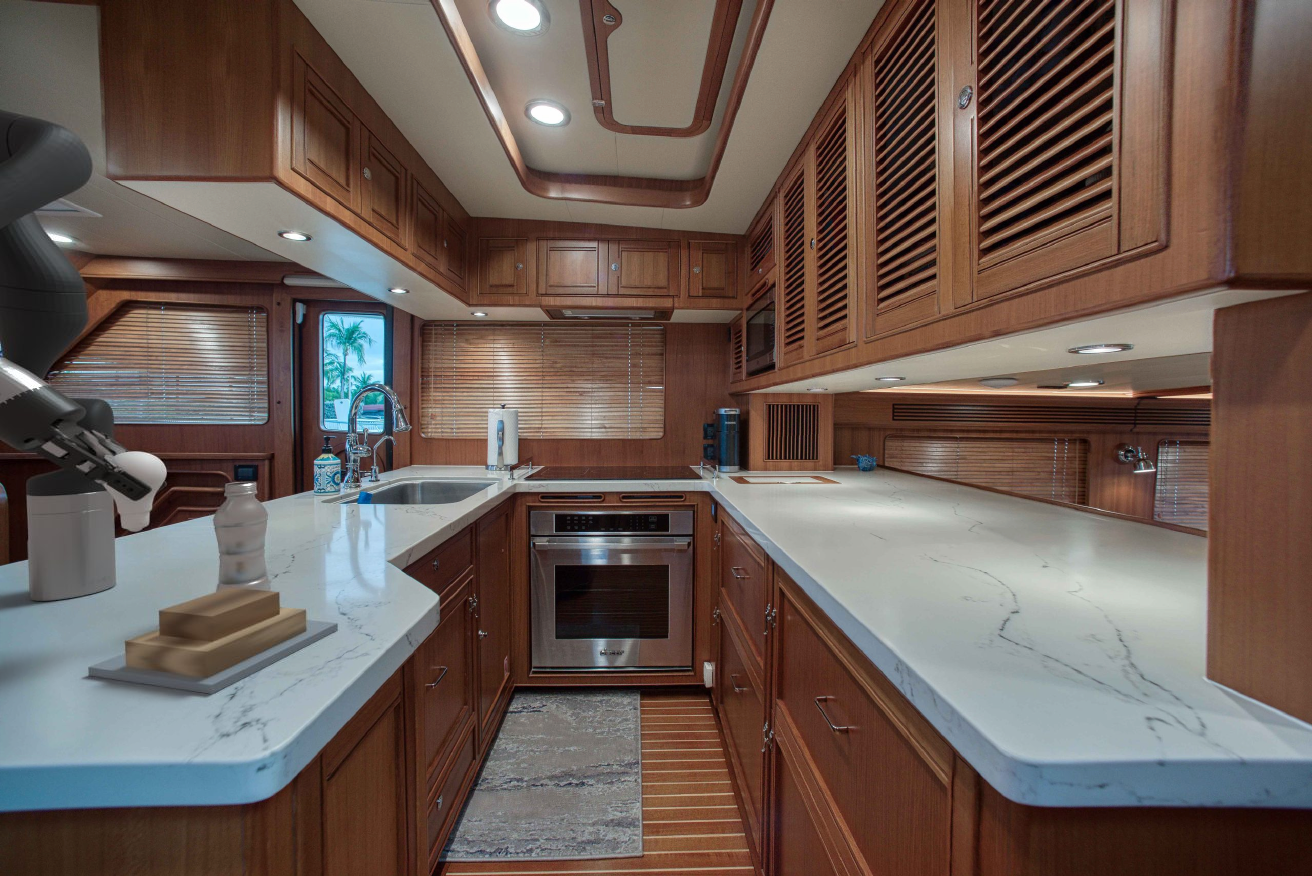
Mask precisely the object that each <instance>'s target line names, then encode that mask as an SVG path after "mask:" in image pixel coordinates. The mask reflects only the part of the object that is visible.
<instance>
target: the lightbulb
mask: <svg viewBox="0 0 1312 876" xmlns="http://www.w3.org/2000/svg"><path fill="white" fill-rule="evenodd" d="M112 461H114V462H115V463H116V464H117V465H119V466H120V467H121V468H122V469H123V471H126V472H127V473H129V474H130V475H132V476H134V477H135V478H137V479H139V480H140V481H142V482H144V483H145V484H147V485H148V486H150V487H151V488H152V491H151V492H150V493H149V494H147V495H146V496H145V497H143V498H142V499H140V500H138V501H133V500H131V499H129V498H128V497H126V496H125V495H123V494H121V493H120V492H118V491H116V490H115V489H113V488H112V487H110V486H108V485H107V482H106V483H105V484H103V485H104V487H105V488H106V489H107V490H108V491H109V493H110V494H111V495H112V496H113V501H114V503H115V504H116V507H117V508H116V509H117V510H116V511H117V514H119V515H120V523H121V524H120V525H121V528H123V529H125V530H128V531H129V532H139V531H142V529H143V528H146V527H148V526H149V525H150V515H151V514H150V513H151V511H152V510H153V502H154V498H155V496H156V494H157V493H158V492H159V491H158V489H159V488H160V487H161V485H162V483H163V482H164V481H166V478H167V468H166V466H165V465H166V464H165V463H164V462H163V461H162V460H161V459H160V458H159V457H157V456H156V455H155V454H154V455H153V454H151V453H148V452H144V451H131V452H125V453H121V454H118V455H115V456H113V458H112ZM123 471H121V473H122V472H123ZM157 491H158V492H157ZM156 492H157V493H156Z"/></svg>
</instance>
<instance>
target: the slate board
mask: <svg viewBox="0 0 1312 876" xmlns="http://www.w3.org/2000/svg"><path fill="white" fill-rule="evenodd" d="M338 625H339V624H338V622H330V621H329V622H328V621H320V620H311V619H306V627H307V631H306V632H304V633H301V634H299V635H297V636H295V637H293V638H291V639H289V640H287V641H285V642H283V643H280V644H278V645H276V646H274V647H272V648H270V649H268V650H266V651H264V652H262V653H259V654H257V655H255V656H253V657H251V658H249V659H247V660H245V661H243V662H240V663H238V664H236V665H234V666H232V667H230V668H228V669H226V670H224V671H222V672H219V673H217V674H215V675H213V676H211V677H209V678H204V677H197V676H190V675H183V674H176V673H169V672H162V671H155V670H148V669H141V668H134V667H127V666H126V658H125V653H122V654H120V655H118V656H114V657H112V658H108V659H106V660H104V661H103V660H102V661H100V662H98V663H95V664H93V665H90V666H88V668H87V669H88V670H87V671H88V676H89V677H97V678H104V679H112V680H116V681H122V682H129V681H130V682H131V683H136V684H142V683H143V684H142V685H151V686H157V687H162V688H170V689H176V690H184V691H188V692H189V691H191V692H197V693H203V694H209V695H214V694H215V693H218V692H219V691H221V690H223V689H225V688H227V687H229V686H230V685H232V684H235V683H237V682H239V681H240V680H242V679H244V678H247V677H249V676H250V675H253V674H255V673H256V672H259V671H260V670H262V669H264V668H266V667H269V666H270V665H272V664H274V663H276V662H278V661H279V660H282V659H284V658H286V657H287V656H290V655H292V654H294V653H295V652H297V651H300V650H302V649H304V648H305V647H307V646H310V645H311V644H313V643H315V642H317V641H319V640H322V639H323V638H325V637H328V636H329V635H331V634H333V633H335V632H336V631H337V632H338V630H339V629H338V628H339V626H338Z"/></svg>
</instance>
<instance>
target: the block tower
mask: <svg viewBox="0 0 1312 876" xmlns="http://www.w3.org/2000/svg"><path fill="white" fill-rule="evenodd" d="M280 601H281V600H280V591H272V590H270V591H263V590H252V589H242V588H232V587H231V588H228V589H225V590H221V591H218V592H216V591H215V592H213V593H210V594H206V595H203V596H201V597H196V598H193V599H190V600H188V601H184V602H182V603H178V604H176V605H173V606H169V607H166V608H163V609H160V610H158V626H159V627H158V629H156V630H153V631H152V630H151V631H150V632H147V633H144V634H141V635H139V636H136V637H132V638H129V639H128V640H125V641H124V648H125V649H124V650H125V652H124V654H125V658H126V666H127V667H134V668H141V669H148V670H155V671H162V672H169V673H176V674H183V675H190V676H197V677H204V678H209V677H211V676H213V675H215V674H217V673H219V672H222V671H224V670H226V669H228V668H230V667H232V666H234V665H236V664H238V663H240V662H243V661H245V660H247V659H249V658H251V657H253V656H255V655H257V654H259V653H262V652H264V651H266V650H268V649H270V648H272V647H274V646H276V645H278V644H280V643H283V642H285V641H287V640H289V639H291V638H293V637H295V636H297V635H299V634H301V633H304V632H306V631H307V627H306V620H307V609H305V608H304V609H303V608H296V607H295V608H294V607H285V606H281V604H280V603H281V602H280Z"/></svg>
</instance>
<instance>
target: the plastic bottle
mask: <svg viewBox="0 0 1312 876" xmlns="http://www.w3.org/2000/svg"><path fill="white" fill-rule="evenodd" d="M224 491H225V492H224V493H223V494H224V496H223V497H226V500H225V501H224V502H223V504H221V505H220V506H219V508H218V509H217V510H216V511H215V513H214V516H213V518H212V521H213V523H212V524H213V526H214V528H213V529H214V532H215V536H216V542H217V547H218V553H219V556H218V557H219V558H218V559H219V566H218V567H219V569H218V579H217V580H218V583H217V584H216V588H215V592H218V591H221V590H225V589H228V588H231V587H232V588H242V589H252V590H263V591H272V590H271V583H270V579H269V575H268V570H267V564H266V557H265V556H266V555H265V552H266V551H265V547H266V535H267V534H266V533H267V528H268V526H267V525H268V520H269V512H268V511H267V508H266V507H265V506H264V505H263V503H262V502H261V501H259V499H257V498H256V495H257V494H258V490H257V482H256V481H239V482H236V481H235V482H229V483H225V485H224Z"/></svg>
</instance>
